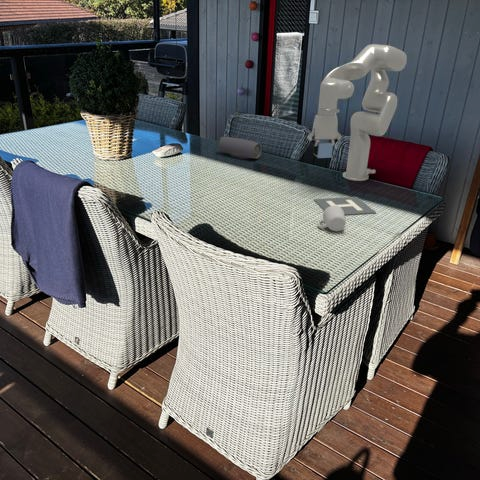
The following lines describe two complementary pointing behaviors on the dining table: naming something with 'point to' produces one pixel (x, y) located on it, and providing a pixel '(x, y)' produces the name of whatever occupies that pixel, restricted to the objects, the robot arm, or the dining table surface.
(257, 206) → the dining table surface
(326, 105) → the robot arm
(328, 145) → the cube
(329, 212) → the cup
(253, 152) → the bluetooth speaker
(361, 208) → the letter mat
